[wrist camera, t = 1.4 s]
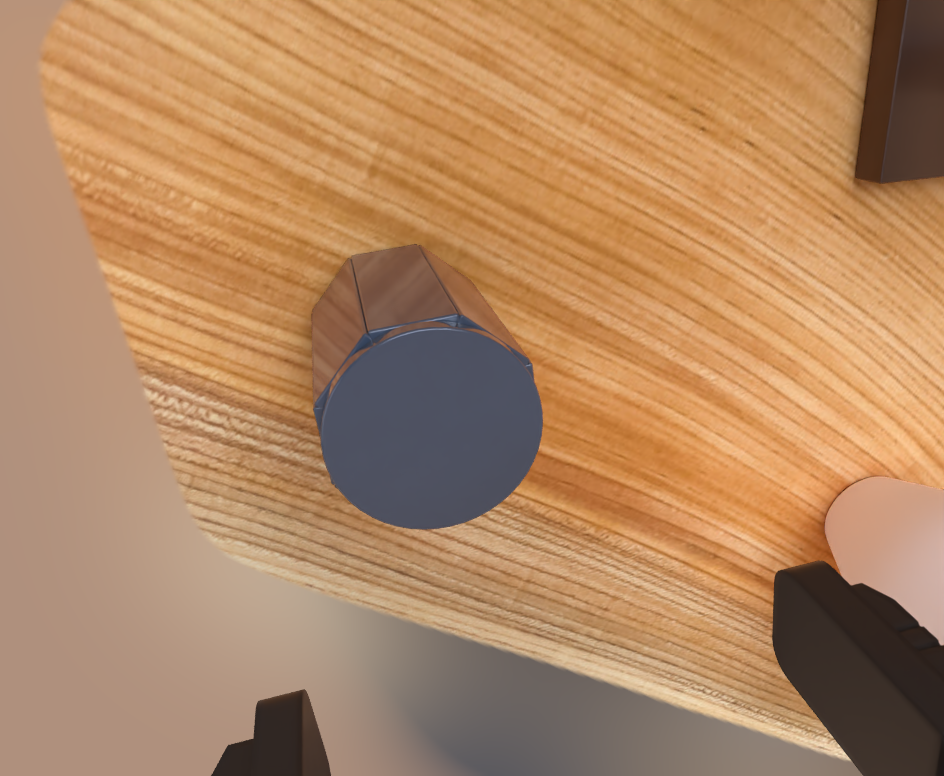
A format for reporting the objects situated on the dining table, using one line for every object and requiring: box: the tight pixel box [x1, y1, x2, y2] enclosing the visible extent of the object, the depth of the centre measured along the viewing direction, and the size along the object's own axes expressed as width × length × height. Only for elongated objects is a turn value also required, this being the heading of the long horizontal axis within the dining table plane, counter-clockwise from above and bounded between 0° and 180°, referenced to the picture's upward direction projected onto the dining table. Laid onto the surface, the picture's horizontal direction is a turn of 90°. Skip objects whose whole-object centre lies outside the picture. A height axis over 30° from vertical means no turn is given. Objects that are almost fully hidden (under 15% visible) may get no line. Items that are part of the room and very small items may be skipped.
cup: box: [312, 244, 543, 529], centre depth 25 cm, size 6×6×9 cm
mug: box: [825, 476, 944, 645], centre depth 32 cm, size 12×8×11 cm
